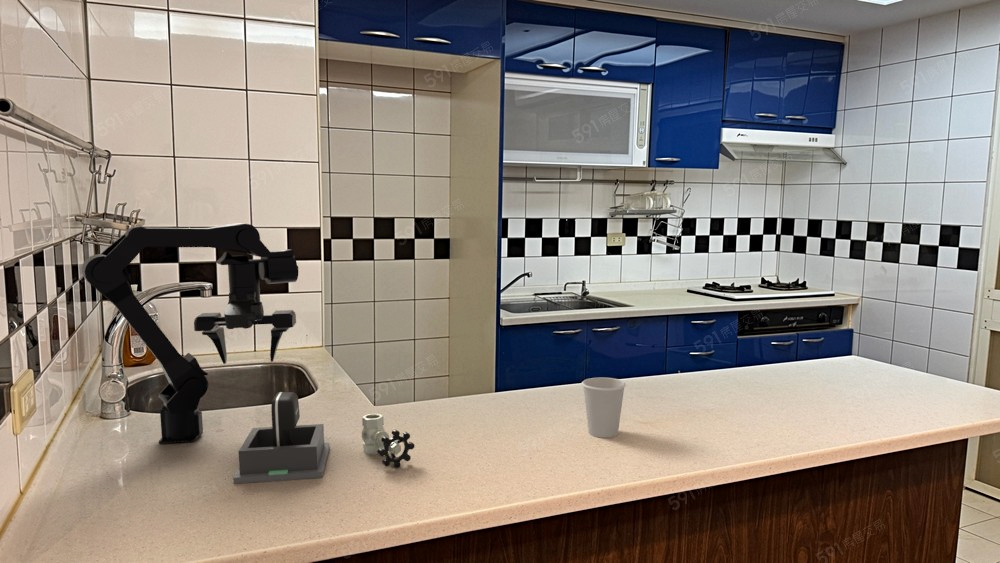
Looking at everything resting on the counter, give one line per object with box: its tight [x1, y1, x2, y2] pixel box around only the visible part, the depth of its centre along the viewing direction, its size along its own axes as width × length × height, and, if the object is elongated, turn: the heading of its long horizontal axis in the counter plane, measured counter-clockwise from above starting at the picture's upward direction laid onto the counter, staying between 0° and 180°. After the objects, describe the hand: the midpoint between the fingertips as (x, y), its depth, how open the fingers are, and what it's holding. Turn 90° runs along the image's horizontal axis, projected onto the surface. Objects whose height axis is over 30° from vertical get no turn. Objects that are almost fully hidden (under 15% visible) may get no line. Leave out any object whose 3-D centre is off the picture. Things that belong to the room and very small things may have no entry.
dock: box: [232, 423, 330, 484], centre depth 122 cm, size 14×14×5 cm
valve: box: [361, 413, 415, 469], centre depth 125 cm, size 7×7×12 cm
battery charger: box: [270, 391, 301, 447], centre depth 121 cm, size 7×4×11 cm, turn 8°
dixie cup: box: [581, 376, 627, 439], centre depth 136 cm, size 8×8×10 cm
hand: (248, 362), depth 143 cm, fingers open, 9 cm apart
